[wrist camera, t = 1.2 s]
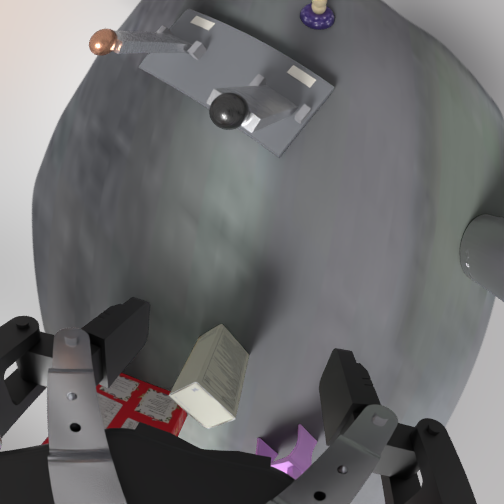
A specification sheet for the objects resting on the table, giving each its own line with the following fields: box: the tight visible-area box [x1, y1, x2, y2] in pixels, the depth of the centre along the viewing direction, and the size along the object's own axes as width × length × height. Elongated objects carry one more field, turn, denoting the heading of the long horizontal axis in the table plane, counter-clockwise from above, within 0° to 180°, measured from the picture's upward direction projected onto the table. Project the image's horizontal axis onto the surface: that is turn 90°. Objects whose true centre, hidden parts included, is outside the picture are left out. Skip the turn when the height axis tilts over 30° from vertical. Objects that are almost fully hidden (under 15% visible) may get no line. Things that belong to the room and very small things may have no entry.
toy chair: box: [255, 424, 317, 480], centre depth 33 cm, size 8×9×15 cm
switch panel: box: [139, 9, 335, 158], centre depth 26 cm, size 10×21×4 cm, turn 53°
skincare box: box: [169, 324, 249, 429], centre depth 31 cm, size 6×4×12 cm
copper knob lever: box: [89, 29, 192, 55], centre depth 21 cm, size 3×4×13 cm, turn 52°
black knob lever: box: [206, 85, 298, 133], centre depth 21 cm, size 3×4×13 cm, turn 53°
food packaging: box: [41, 373, 187, 445], centre depth 30 cm, size 15×5×25 cm, turn 79°
